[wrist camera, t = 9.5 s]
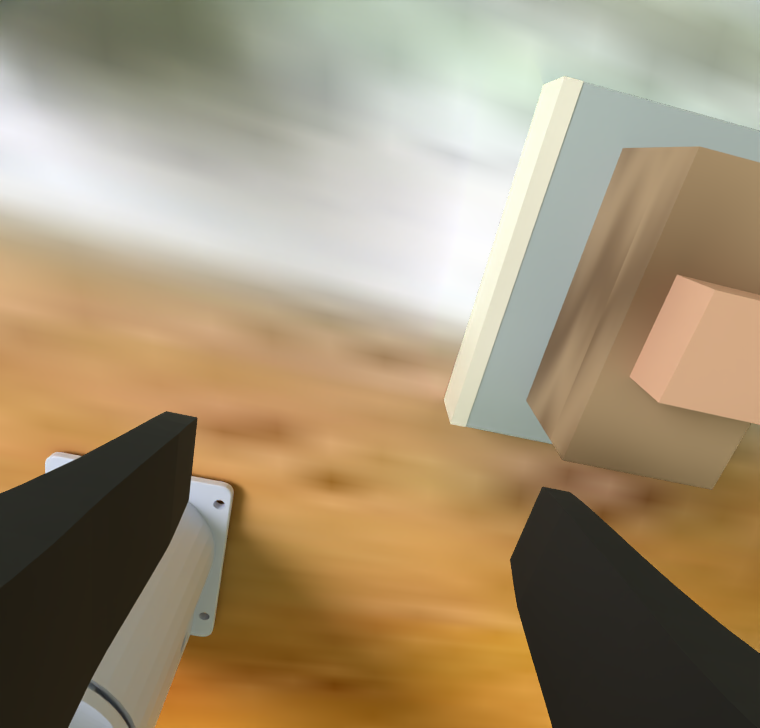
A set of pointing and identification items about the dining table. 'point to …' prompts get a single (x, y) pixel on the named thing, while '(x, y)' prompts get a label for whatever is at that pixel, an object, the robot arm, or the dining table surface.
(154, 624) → the robot arm
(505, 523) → the dining table surface
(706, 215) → the pallet
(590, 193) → the dock
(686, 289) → the tan square block
